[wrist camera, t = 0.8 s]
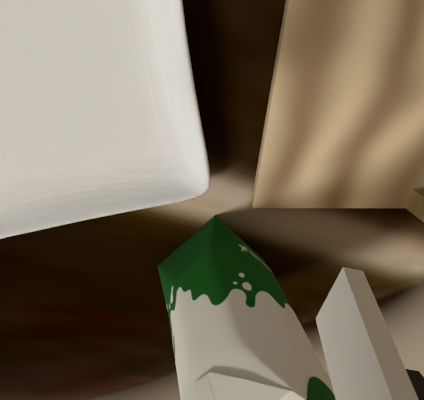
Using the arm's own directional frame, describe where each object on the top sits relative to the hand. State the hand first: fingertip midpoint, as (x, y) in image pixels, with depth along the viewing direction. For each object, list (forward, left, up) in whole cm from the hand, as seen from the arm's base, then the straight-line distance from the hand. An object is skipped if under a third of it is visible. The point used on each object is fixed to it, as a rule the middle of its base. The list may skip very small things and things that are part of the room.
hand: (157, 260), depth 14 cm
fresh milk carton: (+13, +7, -18) cm, 23 cm away
